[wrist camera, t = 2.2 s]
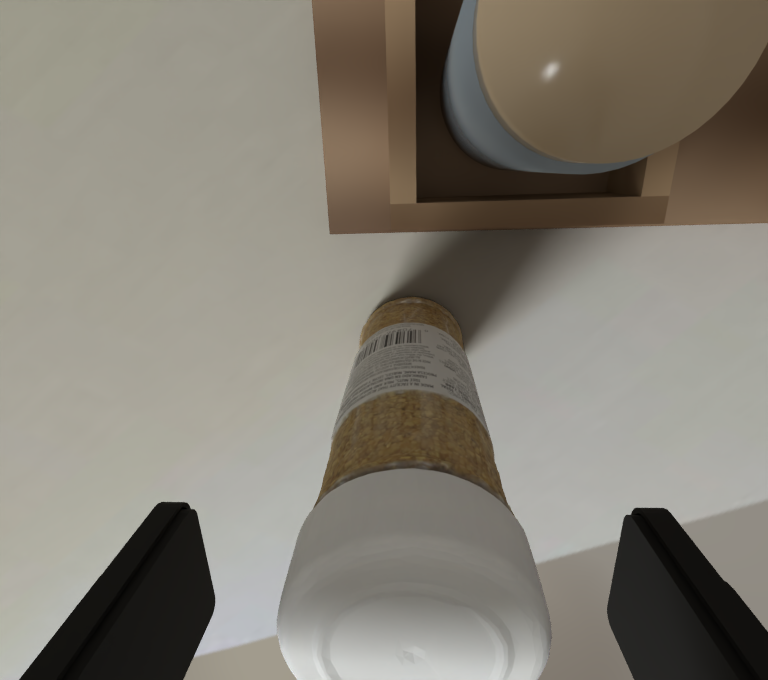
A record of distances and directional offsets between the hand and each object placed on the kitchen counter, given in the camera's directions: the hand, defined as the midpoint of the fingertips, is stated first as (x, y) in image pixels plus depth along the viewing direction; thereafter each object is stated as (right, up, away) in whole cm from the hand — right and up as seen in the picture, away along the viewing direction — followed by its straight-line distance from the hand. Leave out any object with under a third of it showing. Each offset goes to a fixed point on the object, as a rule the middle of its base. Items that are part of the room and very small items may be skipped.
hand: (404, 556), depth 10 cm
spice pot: (+4, +13, +5) cm, 14 cm away
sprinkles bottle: (+1, +5, +10) cm, 11 cm away
